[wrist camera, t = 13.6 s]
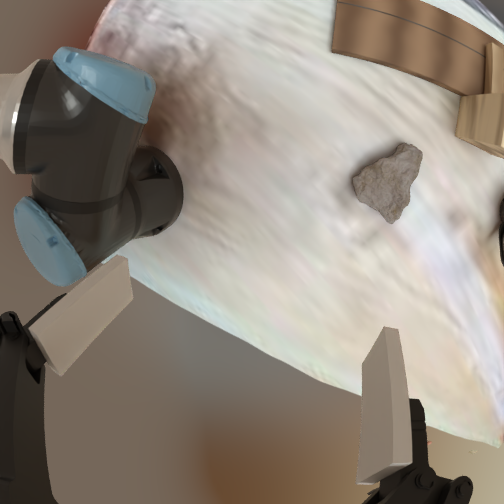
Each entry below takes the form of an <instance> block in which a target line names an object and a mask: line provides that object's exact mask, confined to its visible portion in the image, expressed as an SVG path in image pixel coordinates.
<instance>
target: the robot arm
mask: <svg viewBox="0 0 504 504" xmlns="http://www.w3.org/2000/svg"><path fill="white" fill-rule="evenodd" d="M155 91H156V84H155V81H154V79H153V77H152V76H151V75H150V74H148V73H147V72H145V71H143V70H141V69H139V68H137V67H135V66H132V65H130V64H127V63H125V62H122V61H119V60H117V59H114V58H111V57H108V56H105V55H101V54H98V53H94V52H91V51H86V50H81V49H76V48H72V47H61V48H60V49H58V51H57V52H56V53H55V54H54V56H53V60H46V59H45V60H44V59H38V60H36V61H35V62H34V63H32V64H31V65H30V66H29V67H28V68H26V69H25V70H24V71H23V72H21V73H19V74H0V159H2V160H4V161H5V163H6V164H7V166H8V167H9V169H10V170H11V172H12V173H14V174H32V186H31V195H30V196H29V197H27V196H25V197H23V198H22V199H21V200H20V201H19V202H18V204H17V205H16V206H15V210H14V222H15V226H16V231H17V234H18V237H19V240H20V242H21V245H22V247H23V249H24V251H25V253H26V254H27V256H28V258H29V259H30V261H31V262H32V264H33V265H34V266H35V268H36V269H37V270H38V272H39V273H40V274H41V275H42V276H43V277H44V278H45V279H46V280H48V281H49V282H51V283H52V284H54V285H57V286H68V285H70V284H72V283H74V282H75V281H77V280H79V279H80V278H82V277H85V276H86V274H87V273H88V272H89V271H90V270H92V269H93V268H94V267H95V266H97V265H98V264H99V263H101V262H102V261H103V260H105V259H106V258H107V257H109V256H110V255H111V254H113V253H114V252H115V251H117V250H118V249H119V248H121V247H122V246H124V245H125V244H126V243H128V242H129V241H131V240H132V239H137V238H143V237H149V236H154V235H157V234H159V233H161V232H163V231H164V230H165V229H167V228H168V227H169V226H171V225H172V224H173V223H174V222H175V220H176V219H177V217H178V216H179V214H180V211H181V208H182V203H183V187H182V182H181V178H180V175H179V173H178V171H177V169H176V167H175V165H174V164H173V162H172V161H171V160H170V159H169V158H168V157H167V156H166V155H165V154H164V153H163V152H161V151H160V150H158V149H156V148H153V147H150V146H137V145H138V142H139V139H140V136H141V133H142V130H143V128H144V125H145V124H146V123H147V121H148V113H149V110H150V107H151V104H152V101H153V98H154V95H155ZM131 300H133V293H132V288H131V281H130V274H129V267H128V259H127V258H125V257H122V256H119V255H116V256H115V257H113V258H112V259H111V260H109V261H108V262H107V263H105V264H104V265H103V266H101V267H100V268H99V269H98V270H96V271H95V272H94V273H93V274H91V275H90V276H89V277H87V278H86V279H85V280H84V281H83V282H81V283H80V284H79V285H77V287H75V288H74V289H73V290H71V291H70V292H69V293H68V294H66V293H65V294H63V295H61V296H58V297H57V298H56V299H54V300H53V301H52V302H51V303H50V305H47V306H46V307H45V308H44V309H43V310H42V311H40V312H39V313H38V314H37V315H36V316H35V317H33V318H32V319H31V320H30V321H29V322H28V323H27V324H26V325H24V326H22V324H21V323H20V320H19V318H18V316H17V314H16V313H15V312H13V311H9V312H5V313H3V314H2V315H1V316H0V504H58V503H57V502H56V500H55V499H54V497H53V495H52V491H51V485H50V480H49V473H48V466H47V457H46V447H45V432H44V383H45V366H44V363H45V362H46V361H47V363H48V365H49V366H50V368H51V369H52V370H53V371H54V372H56V373H57V374H59V375H60V376H62V375H63V374H64V373H65V371H66V370H67V369H68V368H69V367H70V366H71V364H73V362H74V361H75V360H76V359H77V358H78V357H79V356H80V354H81V353H82V352H83V351H84V350H85V349H86V348H87V347H88V346H89V345H90V343H91V342H92V341H93V340H94V339H95V338H96V337H97V336H98V335H99V334H100V333H101V332H102V331H103V330H104V329H105V327H106V326H107V325H108V324H109V323H110V322H111V321H112V320H113V319H114V318H115V317H116V316H117V315H118V314H119V313H120V312H121V311H122V310H123V309H124V308H125V307H126V306H127V305H128V304H129V303H130V301H131ZM379 481H380V487H379V488H376V489H374V490H372V491H370V492H369V493H368V495H370V494H371V495H370V496H369V497H368V498H367V499H366V500H365V501H364V502H363V503H362V504H469V501H470V498H471V495H472V491H473V484H472V481H471V479H470V478H468V477H467V476H461V477H458V478H456V479H454V480H451V479H447V478H443V477H439V476H437V475H436V473H435V471H434V470H433V469H432V468H431V467H429V464H428V448H427V433H426V423H425V413H424V408H423V406H422V404H421V402H420V400H419V399H410V398H409V396H408V387H407V379H406V372H405V365H404V359H403V353H402V347H401V342H400V337H399V332H398V329H394V328H389V327H383V329H382V331H381V333H380V335H379V336H378V338H377V340H376V342H375V343H374V345H373V347H372V348H371V350H370V352H369V354H368V355H367V357H366V358H365V360H364V362H363V363H362V414H361V434H360V447H359V459H358V468H357V476H356V484H375V483H376V482H379Z"/></svg>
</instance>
